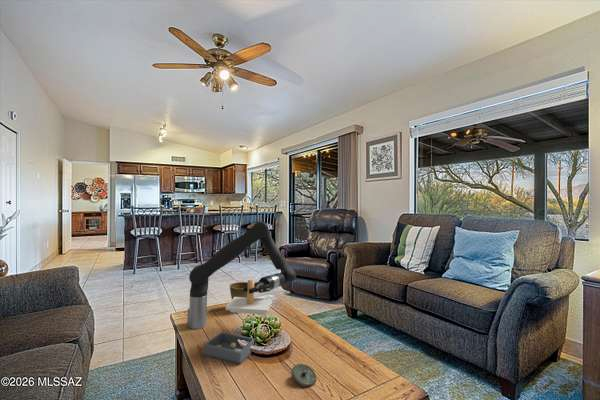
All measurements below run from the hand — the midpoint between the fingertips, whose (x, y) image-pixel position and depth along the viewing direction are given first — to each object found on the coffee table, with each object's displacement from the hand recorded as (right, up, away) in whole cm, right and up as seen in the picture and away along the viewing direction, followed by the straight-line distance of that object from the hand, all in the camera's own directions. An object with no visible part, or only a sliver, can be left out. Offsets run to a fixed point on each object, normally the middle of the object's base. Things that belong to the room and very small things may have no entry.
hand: (246, 290), depth 139 cm
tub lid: (+1, -10, +2) cm, 10 cm away
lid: (+27, -29, -23) cm, 46 cm away
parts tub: (-7, -28, -4) cm, 29 cm away
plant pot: (-13, -28, +48) cm, 57 cm away
